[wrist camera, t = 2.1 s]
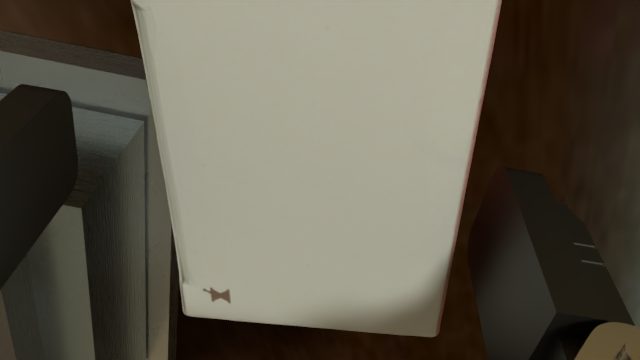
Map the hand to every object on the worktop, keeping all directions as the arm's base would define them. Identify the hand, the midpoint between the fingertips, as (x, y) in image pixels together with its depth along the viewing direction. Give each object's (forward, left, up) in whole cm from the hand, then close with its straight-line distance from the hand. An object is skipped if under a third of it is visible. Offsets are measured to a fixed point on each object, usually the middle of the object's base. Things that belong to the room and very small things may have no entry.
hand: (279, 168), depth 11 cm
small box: (-1, 0, -10) cm, 10 cm away
